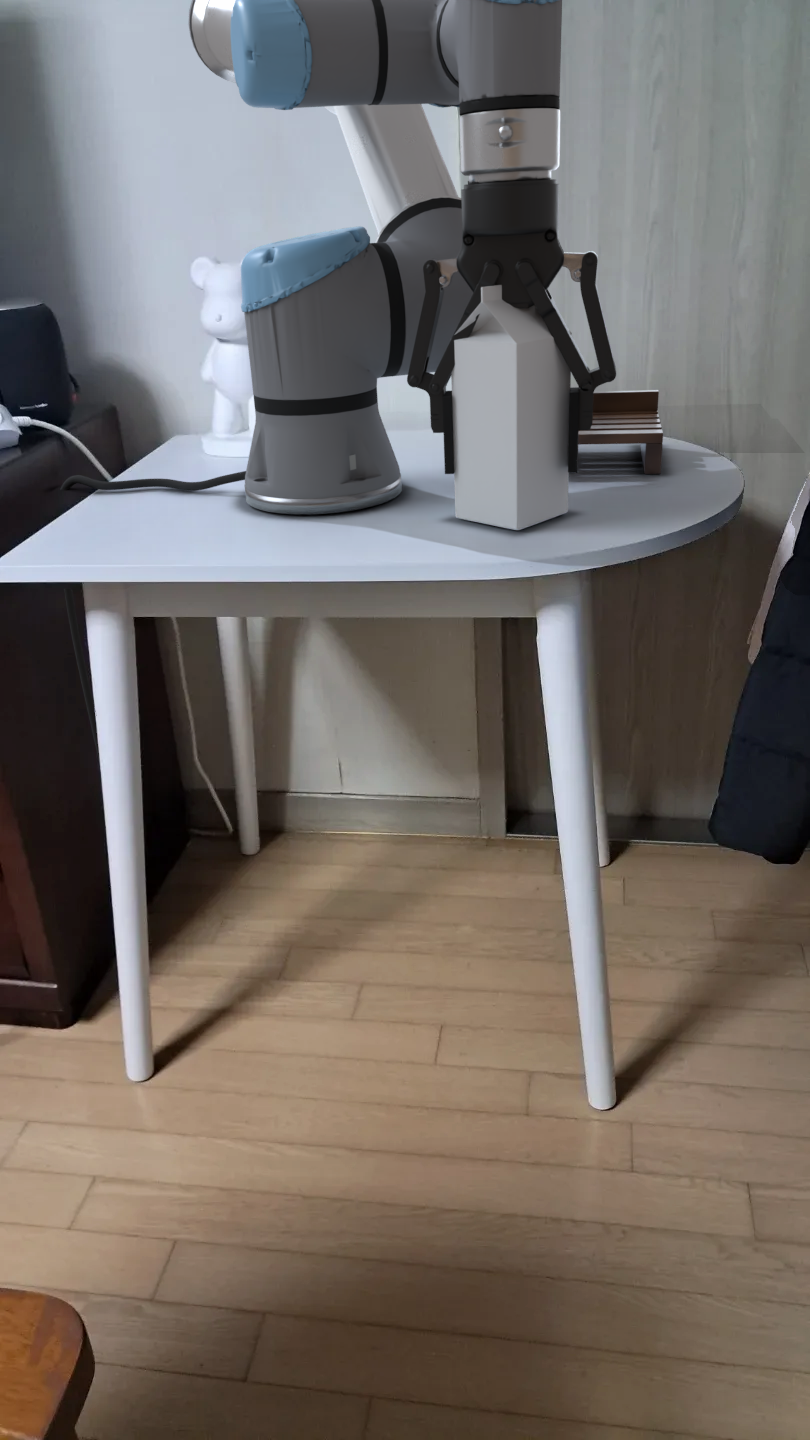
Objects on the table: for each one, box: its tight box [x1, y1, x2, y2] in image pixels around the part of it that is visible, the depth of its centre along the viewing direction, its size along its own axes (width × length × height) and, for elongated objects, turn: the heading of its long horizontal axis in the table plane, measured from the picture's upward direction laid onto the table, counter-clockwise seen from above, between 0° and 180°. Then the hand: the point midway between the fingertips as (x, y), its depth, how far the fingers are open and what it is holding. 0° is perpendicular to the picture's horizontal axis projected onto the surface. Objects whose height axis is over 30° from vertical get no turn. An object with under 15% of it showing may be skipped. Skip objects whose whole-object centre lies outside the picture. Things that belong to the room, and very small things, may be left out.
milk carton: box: [450, 285, 573, 531], centre depth 87 cm, size 7×7×19 cm
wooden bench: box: [578, 389, 664, 475], centre depth 108 cm, size 13×13×6 cm
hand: (511, 469), depth 89 cm, fingers closed on milk carton, 10 cm apart
